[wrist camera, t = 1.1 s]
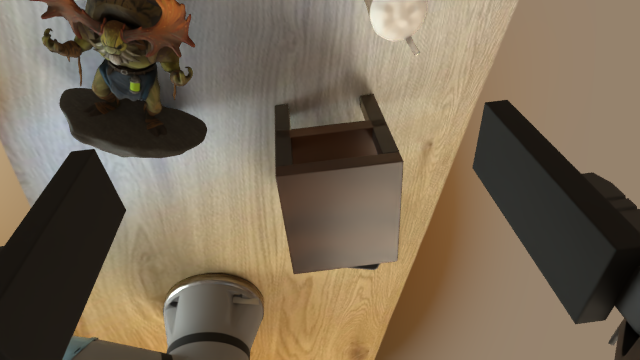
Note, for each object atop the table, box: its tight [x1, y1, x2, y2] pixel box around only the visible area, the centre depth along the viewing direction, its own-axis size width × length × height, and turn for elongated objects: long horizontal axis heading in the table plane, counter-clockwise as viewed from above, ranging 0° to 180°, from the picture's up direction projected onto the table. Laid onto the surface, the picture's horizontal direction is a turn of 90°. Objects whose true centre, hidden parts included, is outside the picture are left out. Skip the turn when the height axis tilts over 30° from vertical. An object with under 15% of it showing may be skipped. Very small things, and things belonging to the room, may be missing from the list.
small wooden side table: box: [275, 94, 403, 274], centre depth 43 cm, size 13×11×13 cm
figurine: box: [30, 0, 207, 158], centre depth 36 cm, size 14×10×18 cm
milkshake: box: [364, 0, 428, 56], centre depth 34 cm, size 4×5×10 cm
